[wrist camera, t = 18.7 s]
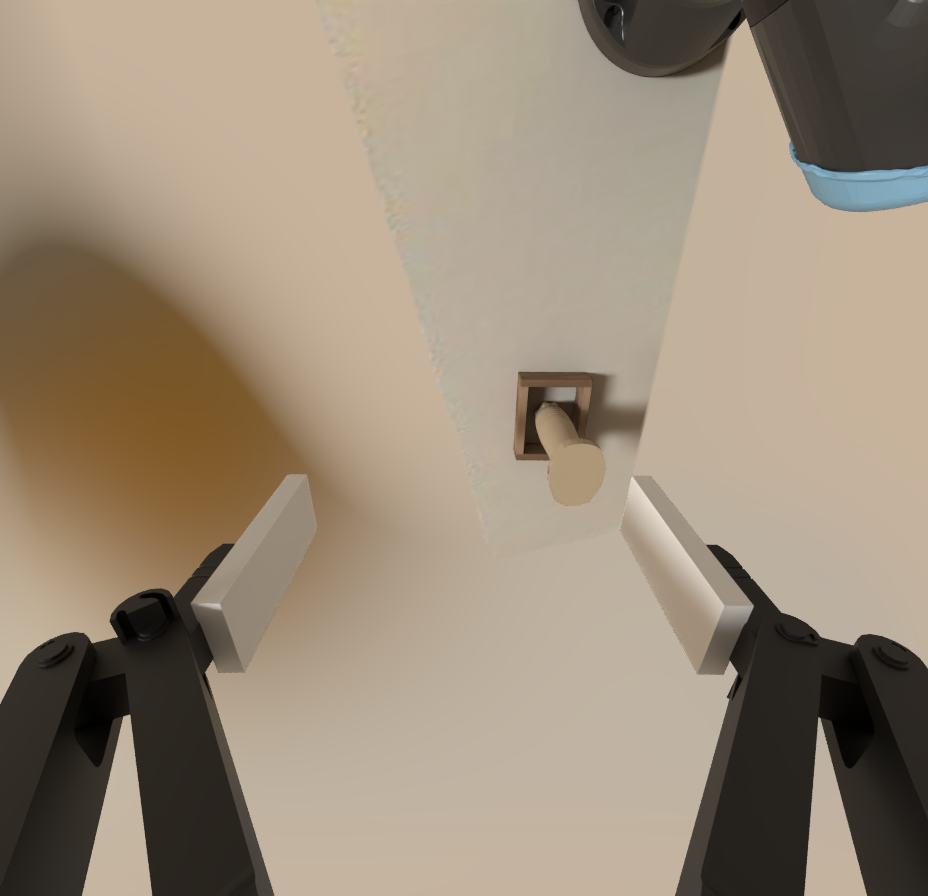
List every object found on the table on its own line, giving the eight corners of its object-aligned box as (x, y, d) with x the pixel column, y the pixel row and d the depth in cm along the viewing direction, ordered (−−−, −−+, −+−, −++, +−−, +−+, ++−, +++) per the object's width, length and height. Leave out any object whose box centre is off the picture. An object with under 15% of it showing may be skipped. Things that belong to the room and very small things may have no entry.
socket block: (518, 372, 48) (521, 379, 45) (585, 372, 48) (592, 380, 45) (513, 448, 52) (516, 460, 50) (574, 449, 52) (580, 460, 50)
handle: (571, 388, 49) (612, 445, 36) (562, 437, 52) (596, 507, 38) (530, 386, 49) (556, 442, 35) (524, 435, 52) (544, 504, 38)
